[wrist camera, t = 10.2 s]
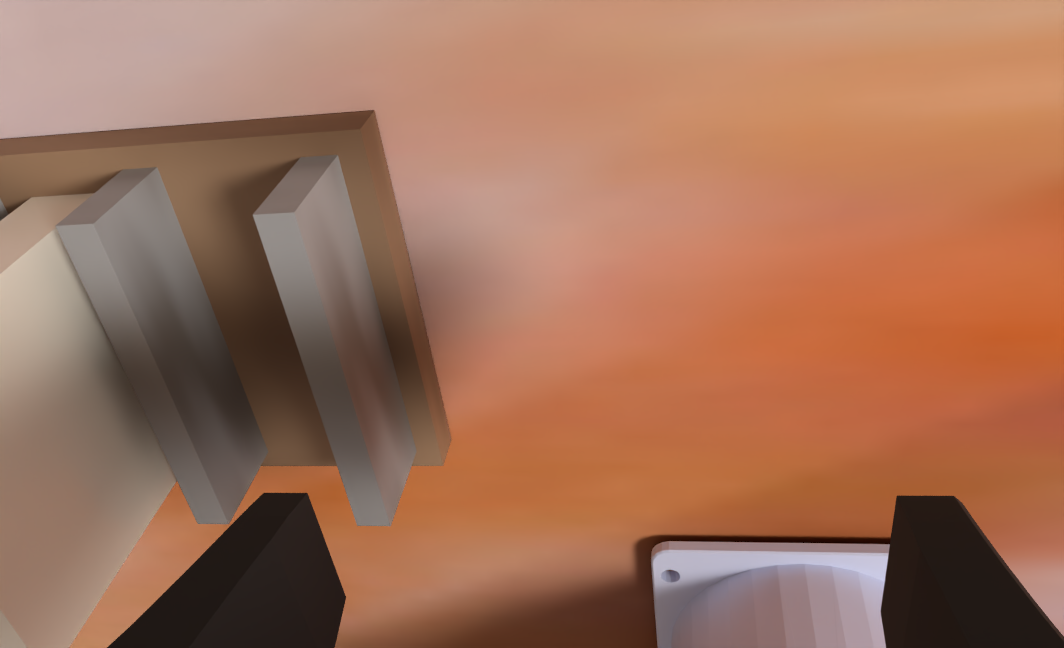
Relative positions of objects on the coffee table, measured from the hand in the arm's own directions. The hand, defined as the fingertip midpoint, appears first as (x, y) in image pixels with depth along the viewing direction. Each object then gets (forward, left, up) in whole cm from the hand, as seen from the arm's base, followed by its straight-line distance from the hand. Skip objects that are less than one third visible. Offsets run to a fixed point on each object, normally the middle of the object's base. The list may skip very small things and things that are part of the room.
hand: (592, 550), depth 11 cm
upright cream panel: (-2, +12, -8) cm, 15 cm away
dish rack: (-2, +12, -9) cm, 15 cm away
